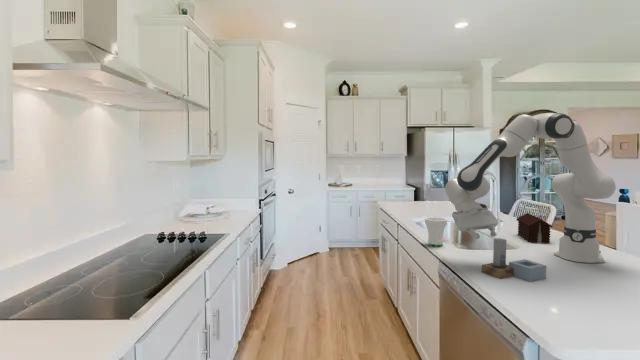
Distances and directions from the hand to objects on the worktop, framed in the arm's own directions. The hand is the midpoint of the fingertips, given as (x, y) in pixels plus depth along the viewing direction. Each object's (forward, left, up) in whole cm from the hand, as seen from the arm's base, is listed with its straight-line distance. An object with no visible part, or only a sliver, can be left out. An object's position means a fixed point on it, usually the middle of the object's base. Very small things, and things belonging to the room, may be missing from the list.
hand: (486, 237), depth 149 cm
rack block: (-1, +15, -13) cm, 20 cm away
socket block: (+3, +6, -13) cm, 15 cm away
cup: (-24, -33, -14) cm, 43 cm away
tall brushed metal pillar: (+3, +6, -13) cm, 15 cm away
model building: (-73, +1, -14) cm, 75 cm away
